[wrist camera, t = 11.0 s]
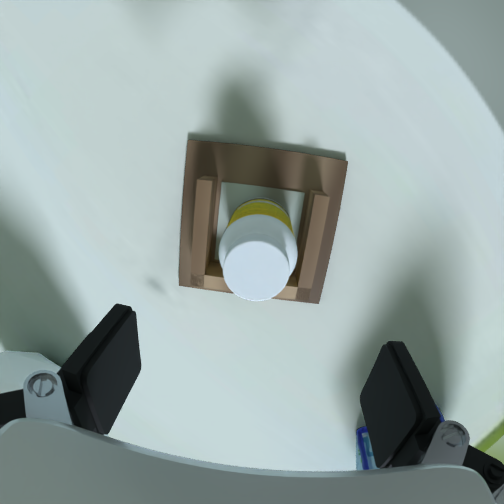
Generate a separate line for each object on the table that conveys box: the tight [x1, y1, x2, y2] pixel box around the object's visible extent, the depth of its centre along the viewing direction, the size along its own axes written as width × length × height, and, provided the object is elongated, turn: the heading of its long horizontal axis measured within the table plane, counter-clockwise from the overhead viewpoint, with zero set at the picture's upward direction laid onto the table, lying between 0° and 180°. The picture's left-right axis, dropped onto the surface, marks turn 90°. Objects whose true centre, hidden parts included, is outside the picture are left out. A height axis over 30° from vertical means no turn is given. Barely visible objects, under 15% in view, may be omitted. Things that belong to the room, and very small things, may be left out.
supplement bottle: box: [219, 198, 298, 301], centre depth 22 cm, size 5×5×10 cm
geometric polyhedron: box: [0, 350, 109, 437], centre depth 27 cm, size 24×25×25 cm
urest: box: [179, 140, 348, 304], centre depth 26 cm, size 14×14×4 cm
